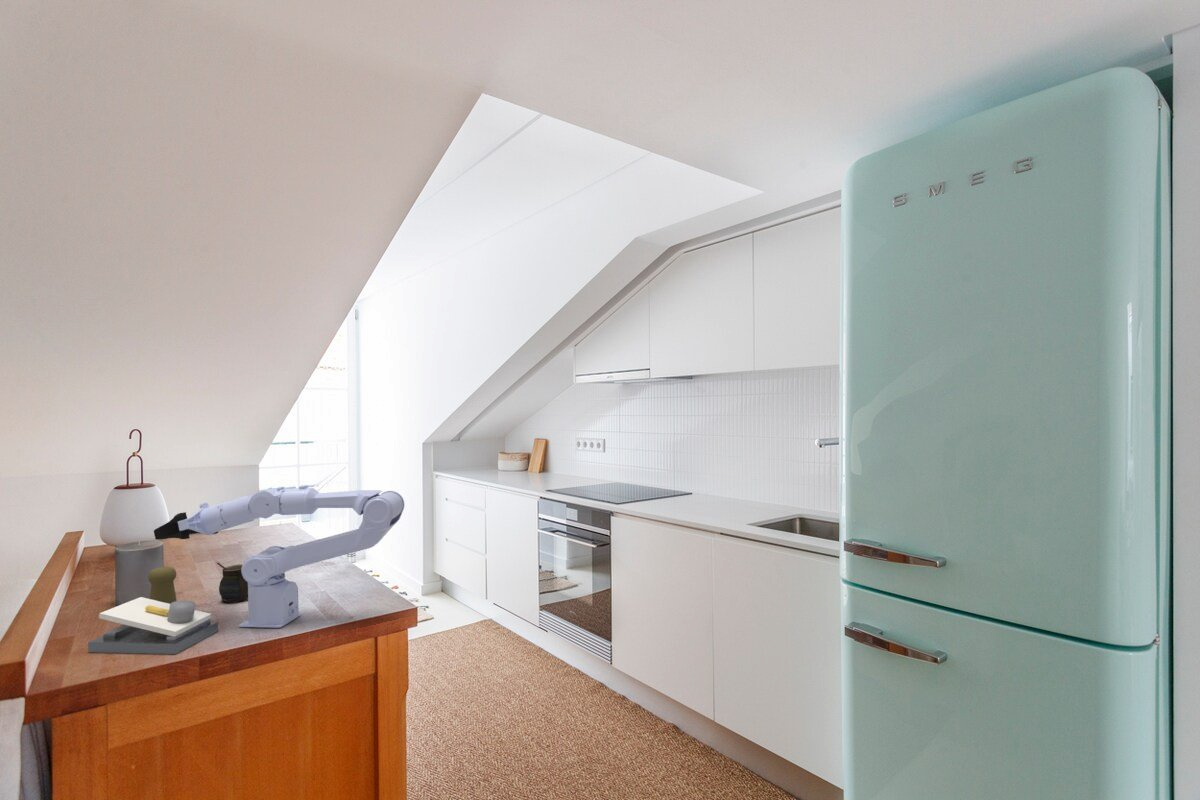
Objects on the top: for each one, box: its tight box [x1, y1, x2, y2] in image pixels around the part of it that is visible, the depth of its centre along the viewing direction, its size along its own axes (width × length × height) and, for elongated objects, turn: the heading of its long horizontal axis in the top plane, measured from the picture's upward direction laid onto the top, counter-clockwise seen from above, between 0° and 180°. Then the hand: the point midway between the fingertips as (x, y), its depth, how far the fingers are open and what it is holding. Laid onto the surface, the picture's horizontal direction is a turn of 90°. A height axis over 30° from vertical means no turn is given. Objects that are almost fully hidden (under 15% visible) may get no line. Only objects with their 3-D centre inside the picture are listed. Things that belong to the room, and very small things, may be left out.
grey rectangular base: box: [87, 618, 219, 655], centre depth 127 cm, size 18×12×3 cm, turn 85°
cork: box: [148, 566, 178, 604], centre depth 142 cm, size 6×6×11 cm
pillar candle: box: [114, 539, 165, 607], centre depth 153 cm, size 10×10×15 cm
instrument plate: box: [98, 597, 212, 637], centre depth 127 cm, size 16×10×4 cm, turn 86°
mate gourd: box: [216, 562, 248, 603], centre depth 153 cm, size 7×8×10 cm
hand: (168, 533), depth 137 cm, fingers open, 7 cm apart
